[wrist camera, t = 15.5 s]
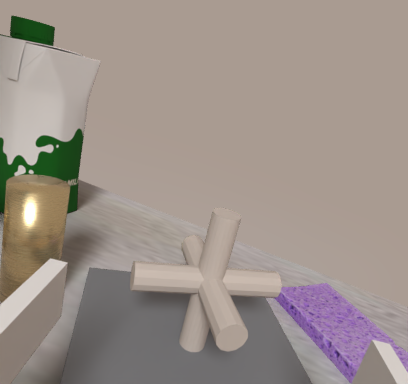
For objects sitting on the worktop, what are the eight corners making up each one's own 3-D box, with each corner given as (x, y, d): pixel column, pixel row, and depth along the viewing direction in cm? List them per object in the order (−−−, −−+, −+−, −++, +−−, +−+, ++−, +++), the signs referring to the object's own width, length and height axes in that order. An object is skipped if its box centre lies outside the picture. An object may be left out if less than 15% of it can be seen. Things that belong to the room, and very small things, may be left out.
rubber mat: (88, 277, 30) (89, 267, 30) (255, 294, 34) (258, 285, 34) (37, 480, 15) (39, 465, 15) (345, 470, 19) (352, 457, 19)
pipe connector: (118, 294, 27) (140, 176, 24) (233, 300, 30) (265, 195, 27) (121, 412, 18) (157, 246, 15) (285, 403, 21) (342, 263, 18)
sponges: (369, 413, 24) (379, 393, 23) (270, 299, 35) (275, 283, 34) (429, 394, 27) (439, 376, 27) (321, 295, 38) (327, 281, 37)
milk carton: (35, 188, 46) (50, 28, 40) (88, 211, 43) (113, 42, 37) (-31, 203, 38) (-25, 5, 32) (29, 232, 35) (49, 21, 29)
